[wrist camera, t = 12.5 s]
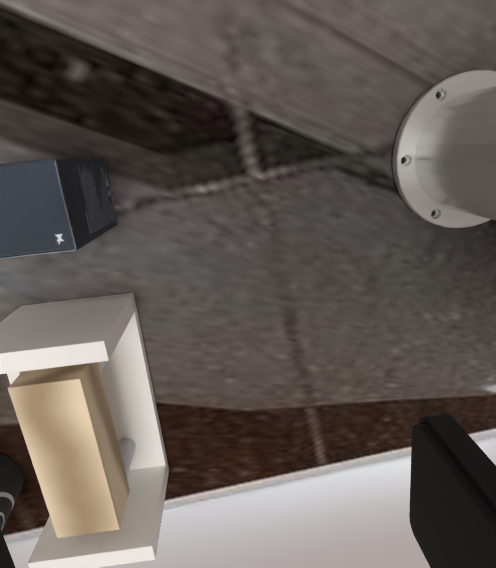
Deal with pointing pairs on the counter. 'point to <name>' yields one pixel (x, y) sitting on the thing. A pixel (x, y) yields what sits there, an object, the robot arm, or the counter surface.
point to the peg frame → (124, 410)
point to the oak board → (72, 447)
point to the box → (53, 205)
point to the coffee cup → (9, 487)
